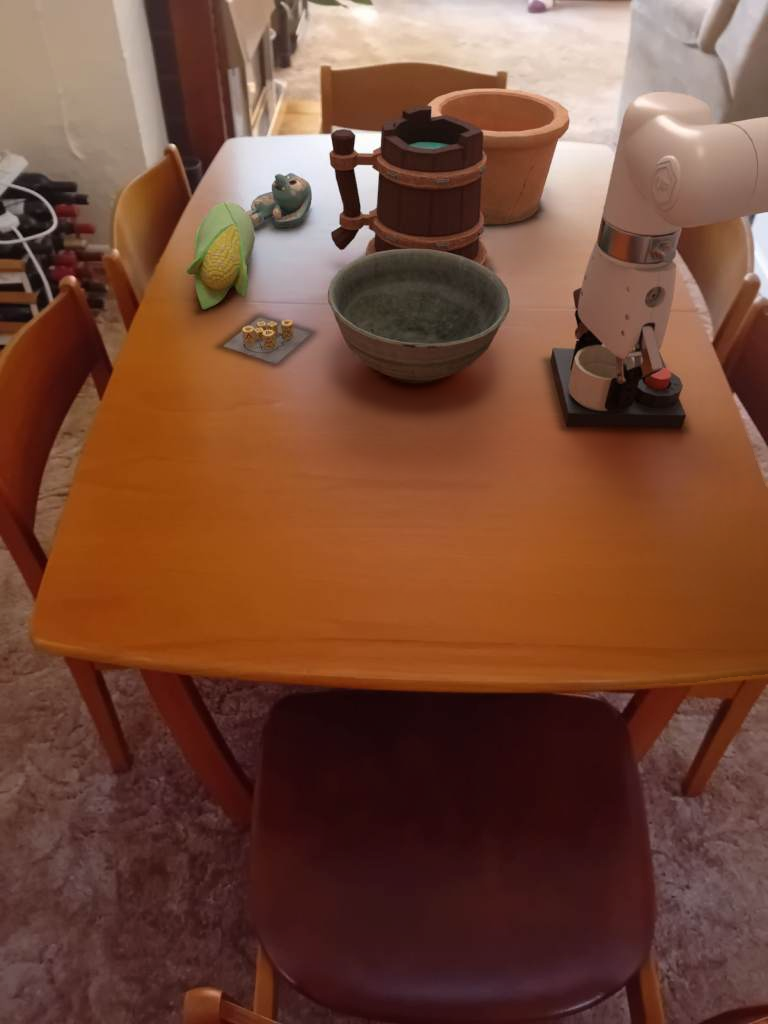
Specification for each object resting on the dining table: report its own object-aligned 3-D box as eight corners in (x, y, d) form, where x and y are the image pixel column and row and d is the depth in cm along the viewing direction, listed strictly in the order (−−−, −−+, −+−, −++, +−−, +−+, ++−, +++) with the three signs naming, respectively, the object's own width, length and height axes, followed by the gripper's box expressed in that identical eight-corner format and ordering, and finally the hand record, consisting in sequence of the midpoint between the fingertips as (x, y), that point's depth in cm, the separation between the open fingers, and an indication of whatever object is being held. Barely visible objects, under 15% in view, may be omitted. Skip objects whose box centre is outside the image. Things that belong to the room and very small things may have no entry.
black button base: (655, 363, 98) (662, 338, 95) (682, 428, 88) (690, 403, 86) (550, 361, 98) (554, 336, 95) (565, 426, 88) (571, 401, 86)
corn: (271, 210, 116) (258, 280, 102) (244, 252, 121) (229, 324, 107) (220, 178, 113) (200, 246, 99) (195, 222, 117) (172, 293, 103)
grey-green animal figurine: (221, 184, 121) (281, 150, 125) (234, 225, 127) (291, 192, 131) (262, 206, 116) (324, 170, 120) (274, 249, 121) (332, 213, 126)
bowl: (422, 302, 107) (426, 232, 100) (535, 371, 96) (549, 298, 89) (297, 355, 98) (291, 281, 91) (406, 439, 87) (409, 362, 80)
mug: (335, 238, 121) (330, 97, 107) (483, 240, 121) (498, 99, 107) (328, 299, 108) (322, 148, 94) (494, 302, 108) (513, 150, 94)
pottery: (549, 179, 138) (563, 90, 128) (558, 236, 122) (575, 139, 112) (425, 173, 139) (430, 84, 129) (418, 229, 123) (423, 132, 113)
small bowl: (608, 373, 93) (617, 340, 90) (640, 406, 88) (650, 373, 85) (557, 383, 91) (564, 350, 88) (586, 418, 87) (594, 384, 83)
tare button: (664, 377, 90) (668, 366, 89) (670, 391, 88) (674, 379, 87) (642, 377, 90) (645, 365, 89) (647, 390, 88) (650, 379, 87)
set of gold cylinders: (296, 334, 101) (295, 321, 100) (273, 354, 98) (272, 340, 97) (263, 324, 103) (262, 311, 102) (240, 343, 100) (238, 329, 98)
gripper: (725, 272, 71) (672, 427, 84) (624, 196, 83) (590, 342, 96) (654, 285, 70) (611, 441, 82) (560, 205, 81) (535, 352, 94)
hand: (600, 386), depth 89 cm, fingers closed on small bowl, 6 cm apart
